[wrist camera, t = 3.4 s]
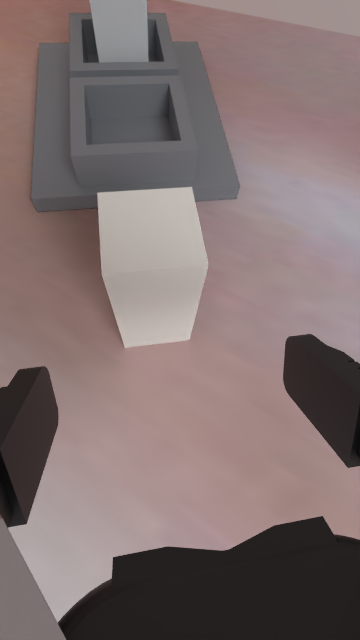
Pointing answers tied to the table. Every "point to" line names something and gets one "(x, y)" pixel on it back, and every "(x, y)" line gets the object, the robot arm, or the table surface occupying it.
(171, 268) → the tall white pillar
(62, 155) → the housing
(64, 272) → the table surface
